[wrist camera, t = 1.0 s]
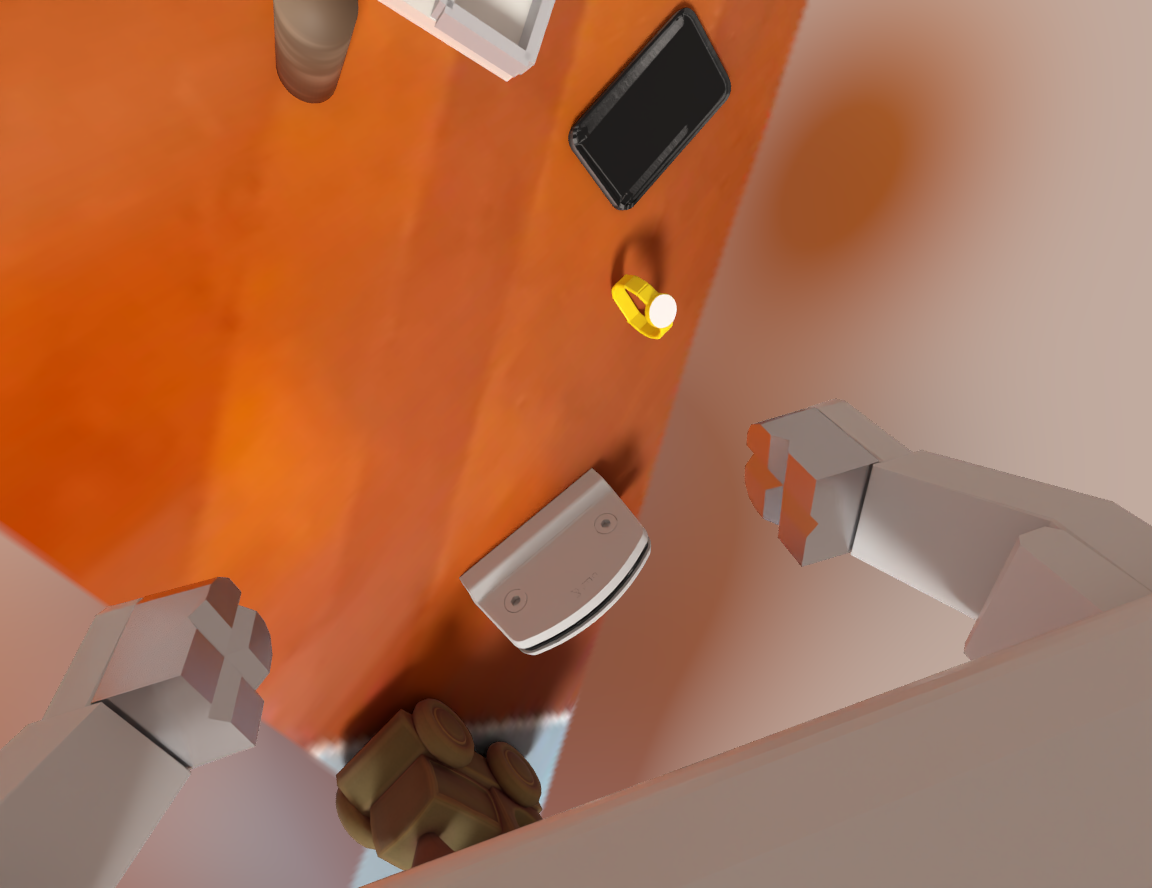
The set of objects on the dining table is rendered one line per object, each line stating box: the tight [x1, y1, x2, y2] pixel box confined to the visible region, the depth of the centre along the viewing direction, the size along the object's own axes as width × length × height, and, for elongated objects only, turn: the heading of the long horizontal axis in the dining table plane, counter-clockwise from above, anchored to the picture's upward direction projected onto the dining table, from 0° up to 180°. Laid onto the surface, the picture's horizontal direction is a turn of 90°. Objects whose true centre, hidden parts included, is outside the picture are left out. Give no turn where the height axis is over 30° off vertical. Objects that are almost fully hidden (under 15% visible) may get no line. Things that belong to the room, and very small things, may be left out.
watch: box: [612, 274, 677, 339], centre depth 48 cm, size 6×3×6 cm, turn 38°
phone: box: [568, 8, 731, 210], centre depth 46 cm, size 8×1×15 cm
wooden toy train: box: [336, 699, 542, 870], centre depth 48 cm, size 20×11×17 cm, turn 38°
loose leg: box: [273, 0, 358, 103], centre depth 30 cm, size 4×4×12 cm
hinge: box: [460, 468, 651, 655], centre depth 51 cm, size 17×5×10 cm, turn 121°
